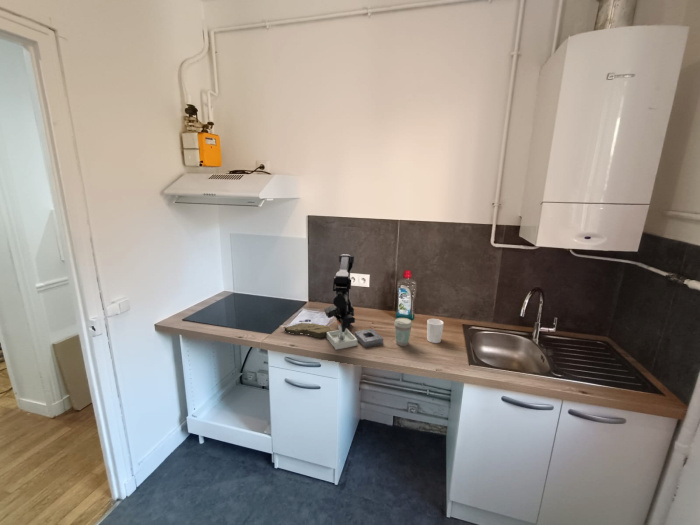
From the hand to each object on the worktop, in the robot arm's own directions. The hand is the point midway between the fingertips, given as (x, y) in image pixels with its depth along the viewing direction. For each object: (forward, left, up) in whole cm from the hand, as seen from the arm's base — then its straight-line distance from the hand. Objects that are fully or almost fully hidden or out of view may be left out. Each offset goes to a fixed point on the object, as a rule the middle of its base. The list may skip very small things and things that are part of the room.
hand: (341, 330), depth 151 cm
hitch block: (+4, +13, -6) cm, 15 cm away
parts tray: (0, 0, -6) cm, 6 cm away
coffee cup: (+13, +27, -6) cm, 31 cm away
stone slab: (-17, -13, -7) cm, 22 cm away
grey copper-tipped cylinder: (0, 0, -4) cm, 4 cm away
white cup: (+16, +44, -6) cm, 47 cm away
